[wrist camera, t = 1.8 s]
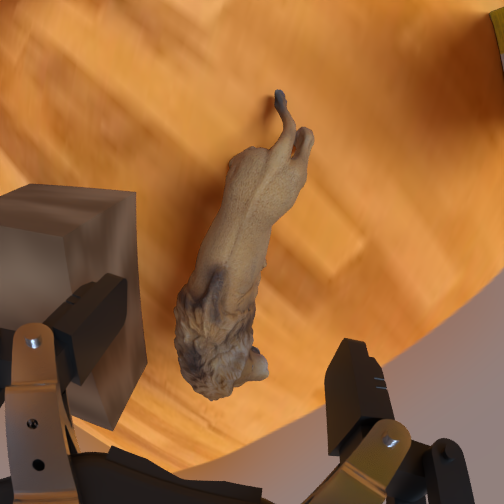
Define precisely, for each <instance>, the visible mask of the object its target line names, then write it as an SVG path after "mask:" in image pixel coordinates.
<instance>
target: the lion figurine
mask: <svg viewBox="0 0 504 504" xmlns="http://www.w3.org/2000/svg"><path fill="white" fill-rule="evenodd" d="M274 105H275V108H276V110H277V111H278V113H279V115H280V117H281V119H282V121H283V132H282V134H281V135H280V137H279V139H278V141H277V142H276V143H275V145H274V146H273V147H271V149H269V150H268V149H265V148H261V147H260V148H255V147H254V146H251V147H249V148H247V149H245V150H244V151H243V152H241V153H239V154H237V155H236V156H234V157H233V158H232V159H231V160H230V162H229V167H230V169H229V171H228V173H227V176H226V185H225V189H224V194H223V200H222V205H221V208H220V210H219V212H218V214H217V216H216V217H215V219H214V221H213V223H212V225H211V226H210V228H209V230H208V232H207V234H206V236H205V238H204V239H203V242H202V244H201V247H200V250H199V253H198V257H197V261H196V266H195V270H194V271H193V273H192V274H191V276H190V278H189V281H188V283H187V284H186V285H184V287H183V288H182V289H181V291H180V292H179V294H178V298H177V305H176V307H175V308H174V314H175V317H176V329H175V334H176V338H175V339H174V344H175V348H176V350H177V354H178V361H179V364H180V368H181V374H182V376H183V378H184V379H185V380H186V381H187V382H188V383H189V384H190V385H191V386H192V387H193V390H194V391H195V392H197V393H199V394H202V395H203V396H204V397H206V398H208V399H209V400H210V401H213V400H218V399H219V398H224V397H228V396H230V395H231V393H232V391H233V387H240V386H241V385H243V384H244V383H245V382H247V381H261V380H264V379H265V378H267V377H268V375H269V371H268V369H267V368H268V363H267V360H266V358H265V357H264V356H263V355H261V354H260V351H259V349H258V348H256V347H254V346H252V344H253V329H252V324H253V320H254V317H255V311H256V307H255V298H256V296H257V293H258V285H259V283H260V279H261V273H260V271H261V270H262V269H263V268H264V267H266V265H267V263H266V259H265V257H266V253H267V248H268V244H269V239H270V234H271V227H272V225H273V224H274V223H275V222H276V221H277V220H278V219H279V218H280V217H282V216H283V215H284V214H285V213H286V212H287V211H288V210H289V209H290V208H291V207H292V206H293V205H294V203H295V201H296V199H297V196H298V194H299V191H300V190H301V188H302V187H303V186H304V184H305V182H306V179H307V164H308V159H309V155H310V151H311V148H312V146H313V144H314V135H313V132H312V131H311V130H310V129H308V128H306V127H301V128H299V129H298V130H297V132H296V124H295V122H294V120H293V118H292V117H291V115H290V113H289V111H288V110H287V107H286V105H287V100H286V99H285V94H284V93H283V91H282V90H278V89H277V90H275V104H274ZM293 144H294V146H295V147H296V151H295V154H294V155H293V156H292V158H291V153H292V148H293Z"/></svg>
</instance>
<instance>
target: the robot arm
mask: <svg viewBox="0 0 504 504" xmlns="http://www.w3.org/2000/svg"><path fill="white" fill-rule="evenodd" d="M127 289H128V282H127V279H126V278H123V277H120V276H117V275H114V274H111V273H106V274H105V275H104V276H103V277H102V278H101V279H100V280H99V281H98V282H93V281H92V282H89V283H87V284H85V285H82V286H80V287H79V288H78V289H77V290H76V291H75V292H74V293H73V294H72V296H70V297H69V298H67V299H66V302H63V303H62V304H61V305H60V306H59V307H58V308H57V309H56V310H55V311H54V312H53V313H52V314H51V315H50V316H49V317H48V318H47V319H46V320H45V321H44V322H43V323H28V324H25V325H23V326H21V327H20V328H18V329H17V330H16V331H14V330H9V329H4V328H0V407H1V406H2V404H3V403H4V401H5V419H6V420H5V421H6V437H7V447H8V458H9V466H10V473H11V476H10V477H6V478H3V479H0V504H275V503H273V502H271V501H269V500H267V499H264V498H262V497H261V495H262V488H256V487H251V486H245V485H240V484H236V483H230V482H226V481H197V480H184V479H181V478H179V477H177V476H175V475H173V474H171V473H170V472H168V471H166V470H164V469H163V468H161V467H159V466H158V465H156V464H154V463H153V462H151V461H149V460H148V459H146V458H143V457H140V456H137V455H135V454H132V453H129V452H127V451H124V450H122V449H119V448H117V447H115V446H111V448H110V450H109V452H108V453H100V452H85V453H81V452H80V448H79V445H78V442H77V439H76V436H75V431H74V427H73V421H72V416H71V411H70V406H69V400H68V394H67V389H66V388H67V386H68V385H69V383H70V382H73V383H75V384H77V385H79V386H82V384H83V383H84V382H85V380H86V379H87V377H88V376H89V374H90V373H91V371H92V370H93V368H94V367H95V365H96V364H97V363H98V361H99V360H100V358H101V357H102V355H103V354H104V353H105V351H106V350H107V348H108V347H109V346H110V344H111V343H112V341H113V340H114V339H115V337H116V336H117V334H118V333H119V332H120V330H121V329H122V327H123V326H124V323H125V320H126V316H127ZM324 385H325V400H326V416H327V434H328V455H329V456H340V463H339V464H338V465H337V466H336V468H334V470H333V471H332V472H331V473H330V474H329V475H328V476H327V477H326V479H325V480H324V481H323V482H322V483H321V484H320V485H319V486H318V487H317V488H316V489H315V490H314V491H313V492H312V493H311V494H310V495H309V496H308V497H307V498H306V499H305V500H304V501H303V502H302V503H301V504H382V503H383V502H384V500H385V499H386V504H426V497H425V495H426V494H428V502H429V504H475V502H474V497H473V492H472V488H471V483H470V479H469V475H468V471H467V466H466V462H465V459H464V455H463V452H462V450H461V448H460V447H459V445H458V444H457V443H455V442H454V441H452V440H450V439H447V438H441V439H438V440H437V441H436V442H435V443H433V445H431V446H429V445H425V444H423V443H419V442H417V441H414V440H411V436H410V433H409V431H408V430H407V429H406V427H405V426H404V425H402V424H401V423H399V422H397V421H395V418H394V414H393V410H392V406H391V403H390V398H389V394H388V391H387V390H386V388H387V387H386V383H385V381H384V375H383V372H382V368H381V367H380V365H379V364H378V363H377V361H376V360H375V358H374V357H369V355H368V351H367V348H366V344H365V342H362V341H358V340H353V339H348V338H344V339H343V340H342V342H341V344H340V345H339V347H338V349H337V351H336V353H335V355H334V357H333V359H332V361H331V363H330V365H329V366H328V368H327V371H326V375H325V380H324Z"/></svg>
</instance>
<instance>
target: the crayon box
mask: <svg viewBox="0 0 504 504" xmlns="http://www.w3.org/2000/svg"><path fill="white" fill-rule="evenodd" d="M489 15H490V18H491V20H492V22H493V25H494V29H495V33H496V37H497V41H498V46H499V50H500V55H501V60H502V65H503V70H504V7H502V8H499V9H497V10H494V11H491V12H490V13H489Z"/></svg>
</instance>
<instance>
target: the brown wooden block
mask: <svg viewBox="0 0 504 504" xmlns="http://www.w3.org/2000/svg"><path fill="white" fill-rule="evenodd" d="M106 273H111V274H114V275H117V276H120V277H123V278H126V279H127V282H128V289H127V316H126V320H125V323H124V326H123V327H122V329H121V330H120V332H119V333H118V334H117V336H116V337H115V339H114V340H113V341H112V343H111V344H110V346H109V347H108V348H107V350H106V351H105V353H104V354H103V355H102V357H101V358H100V360H99V361H98V363H97V364H96V365H95V367H94V368H93V370H92V371H91V373H90V374H89V376H88V377H87V379H86V380H85V382H84V383H83V384H82V386H79V385H77V384H75V383H73V382H70V383H69V385H68V386H67V388H66V389H67V394H68V400H69V406H70V411H71V415H73V416H75V417H77V418H80V419H82V420H85V421H87V422H90V423H92V424H95V425H97V426H100V427H103V428H105V429H108V430H111V431H113V430H114V428H115V426H116V424H117V422H118V420H119V418H120V416H121V414H122V412H123V410H124V408H125V406H126V404H127V402H128V400H129V398H130V396H131V394H132V392H133V390H134V388H135V386H136V384H137V382H138V380H139V378H140V376H141V375H142V373H143V371H144V369H145V367H146V365H147V356H146V348H145V340H144V331H143V322H142V312H141V301H140V289H139V275H138V257H137V231H136V192H130V191H119V190H108V189H97V188H85V187H72V186H58V185H43V184H28V185H26V186H23V187H21V188H18V189H16V190H14V191H11V192H9V193H7V194H4V195H2V196H0V328H4V329H9V330H14V331H16V330H17V329H18V328H20V327H21V326H23V325H25V324H28V323H43V322H44V321H45V320H46V319H47V318H48V317H49V316H50V315H51V314H52V313H53V312H54V311H55V310H56V309H57V308H58V307H59V306H60V305H61V304H62V303H63V302H66V299H67V298H69V297H70V296H72V294H73V293H74V292H75V291H76V290H77V289H78V288H79V287H80V286H82V285H85V284H87V283H89V282H92V281H93V282H98V281H99V280H100V279H101V278H102V277H103V276H104V275H105V274H106Z"/></svg>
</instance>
